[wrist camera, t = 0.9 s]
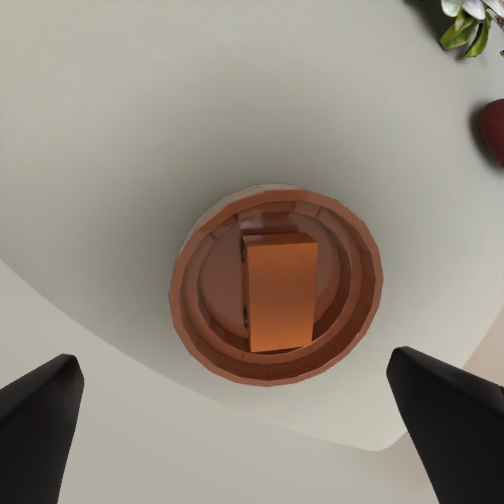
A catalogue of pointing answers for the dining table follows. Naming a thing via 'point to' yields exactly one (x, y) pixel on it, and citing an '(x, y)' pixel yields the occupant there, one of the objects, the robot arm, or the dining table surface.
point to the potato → (494, 129)
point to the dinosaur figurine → (500, 19)
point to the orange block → (279, 289)
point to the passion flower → (469, 24)
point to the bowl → (233, 284)
